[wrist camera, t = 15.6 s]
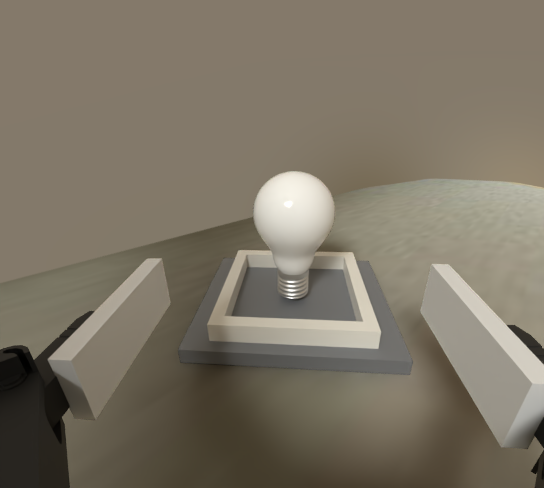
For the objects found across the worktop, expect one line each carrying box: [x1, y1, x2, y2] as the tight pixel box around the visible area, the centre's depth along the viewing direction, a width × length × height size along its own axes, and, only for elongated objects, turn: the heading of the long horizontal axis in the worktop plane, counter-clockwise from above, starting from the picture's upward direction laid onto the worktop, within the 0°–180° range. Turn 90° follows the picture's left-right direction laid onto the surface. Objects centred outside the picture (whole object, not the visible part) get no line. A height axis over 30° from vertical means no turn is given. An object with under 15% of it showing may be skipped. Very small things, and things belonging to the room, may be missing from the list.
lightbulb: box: [253, 171, 335, 299], centre depth 24 cm, size 6×6×11 cm
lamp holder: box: [178, 250, 413, 375], centre depth 26 cm, size 16×14×3 cm
